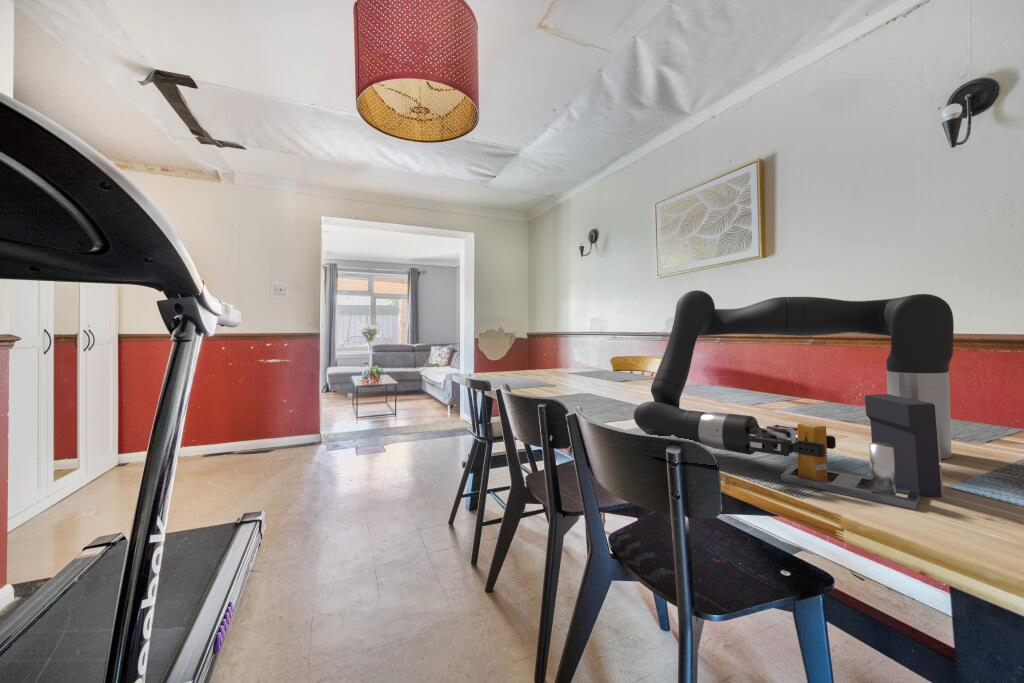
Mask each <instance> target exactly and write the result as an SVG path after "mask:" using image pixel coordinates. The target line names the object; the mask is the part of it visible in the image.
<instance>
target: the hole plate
mask: <svg viewBox="0 0 1024 683" xmlns="http://www.w3.org/2000/svg"><path fill="white" fill-rule="evenodd" d="M797 474H798V464H796V463H794V464H793V465H792V466H790V467H788V468H787V469H786V470H785V471H783V472H782V473H781V474H780V482H783V483H789V484H793V485H797V486H802V487H806V486H807V488H811V487H813V488H812V489H815V488H817V490H820V489H822V490H821V491H825V490H826V492H829V491H830V493H834V492H835V494H839V495H843V496H848V497H854V498H858V499H862V500H868V501H872V502H877V503H881V504H887V505H891V506H897V507H900V508H905V509H909V510H914V511H917V508H918V505H919V502H920V501H921V498H922V497H921V489H919V488H917V487H915V486H912V485H906V484H901V483H896V493H902V494H907V497H904V496H899V495H896V496H895V495H890V494H885V493H880V492H875V491H871V489H863V488H862V487H863V486H865V487H870V488H871V485H870V477H867V476H861V475H856V474H851V473H845V472H841V471H834V470H829V469H827V477H828V478H829V479H830V480H833V479H835V480H833V481H832V482H830V481H828V482H825V481H820V480H815V479H810V478H805V477H800V476H798V475H797Z"/></svg>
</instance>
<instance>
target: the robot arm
mask: <svg viewBox="0 0 1024 683" xmlns="http://www.w3.org/2000/svg"><path fill="white" fill-rule="evenodd" d="M954 322H955V321H954V314H953V311H952V309H951V306H950V304H948V302H947V301H946V300H944V299H943V298H941V297H940V296H937V295H933V294H930V293H929V294H928V293H917V294H910V295H906V296H905V295H904V296H900V297H894V298H886V299H874V300H873V299H871V300H844V299H843V300H842V299H835V298H829V297H816V296H778V297H773V298H768V299H765V300H761V301H759V302H756V303H753V304H750V305H747V306H743V307H739V308H716V306H715V301H714V298H712V296H711V295H710V294H709V293H708V292H705V291H703V290H699V289H698V290H697V289H695V290H691V291H688V292H685V293H684V294H683V295H682V296H681V297H679V299H678V301H677V302H676V308H675V312H674V319H673V324H672V327H671V331H670V336H669V339H668V342H667V345H666V347H665V351H664V353H663V356H662V359H661V361H660V363H659V366H658V369H657V371H656V373H655V376H654V379H653V382H652V383H651V387H650V393H651V395H652V398H653V401H647V402H646V401H645V402H643V403H641V404H638V406H637V407H636V408H635V409H634V411H633V412H634V413H633V419H634V423H635V424H636V425H637V427H638V428H639V429H641V431H643V433H644V434H646V435H647V434H649V435H658V436H670V437H672V436H674V437H676V438H677V437H678V438H677V439H679V438H684V439H689V440H693V441H695V442H699V443H701V444H703V445H702V446H704V447H705V446H707V447H710V448H712V449H717V450H721V451H728V452H733V453H737V454H738V453H739V454H743V455H749V456H750V455H751V456H752V455H753V454H755V453H756V452H757V453H764V454H769V455H776V456H783V457H790V455H792V456H796V455H798V454H803V455H809V456H815V457H821V458H822V457H824V456H825V446H824V445H823V444H821V443H814V442H807V441H800V440H798V437H797V436H798V430H797V427H794V426H787V425H779V424H774V425H766V426H765V427H761V426H760V425H759V422H758V420H757V418H756V417H755V416H752V415H746V414H739V413H738V414H736V413H727V412H717V411H715V412H714V411H713V412H711V411H710V412H708V411H700V410H687V409H685V408H684V409H683V408H681V407H680V406H681V405H680V403H681V402H680V401H681V397H682V395H683V391H684V390H685V389H684V388H685V387H686V384H687V383H686V382H687V381H688V377H689V374H690V371H691V370H690V369H691V365H692V360H693V355H694V350H695V347H696V343H697V340H698V337H702V336H703V337H704V336H705V337H707V336H722V335H723V336H724V335H770V336H771V335H773V336H796V337H797V336H798V337H799V336H800V337H802V336H806V337H807V336H808V337H810V336H828V335H836V334H838V335H839V334H865V335H866V334H867V335H877V336H878V335H879V336H886V337H888V336H889V337H890V352H889V355H888V357H887V358H886V361H885V362H886V363H885V364H886V384H887V385H886V387H887V389H886V390H887V394H889V395H894V396H899V397H904V398H909V399H914V400H918V401H923V402H928V403H933V404H934V405H935V407H936V418H937V432H938V433H939V439H940V453H941V460H944V459H951V458H952V455H953V454H952V424H951V423H952V422H951V391H950V390H951V389H950V388H951V387H950V362H951V360H952V358H953V355H954V336H955V335H954V333H955V332H954V324H955V323H954ZM826 440H827V449H829V450H833V449H835V448H836V444H837V442H836V437H835V436H833V435H829V434H828V435H827V434H826Z"/></svg>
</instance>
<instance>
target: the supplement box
mask: <svg viewBox="0 0 1024 683" xmlns="http://www.w3.org/2000/svg"><path fill="white" fill-rule="evenodd" d="M796 425H797V426H796V428H797V430H798V435H797V438H798V440H800V441H807V442H814V443H821V444H823V445H824V446H825V456H824V457H822V458H821V457H815V456H809V455H803V454H798V453H797V465H798V475H797V476H800V477H805V478H810V479H815V480H820V481H825V482H829V481H828V477H827V470H828V453H827V452H828V450H827V449H828V448H827V440H826V435H827V426H826V425H822V424H816V423H810V422H809V423H808V422H802V423H797V424H796Z"/></svg>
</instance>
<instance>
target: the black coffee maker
mask: <svg viewBox="0 0 1024 683" xmlns="http://www.w3.org/2000/svg"><path fill="white" fill-rule="evenodd" d="M864 404H865V415H866V416H867V417H868V419H869V420H870V421H869V422H870V433H871V443H885V444H890V445H893V446H895V471H896V483H901V484H906V485H912V486H915V487H917V488H919V489H921V498H923V497H924V498H942V495H944V483H943V482H944V481H943V469H942V465H941V464H940V462H941V461H942V459H941V453H940V439H939V433H938V432H937V418H936V407H935V405H934V404H933V403H928V402H923V401H918V400H914V399H909V398H904V397H899V396H894V395H889V394H884V393H883V394H865V395H864Z"/></svg>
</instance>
